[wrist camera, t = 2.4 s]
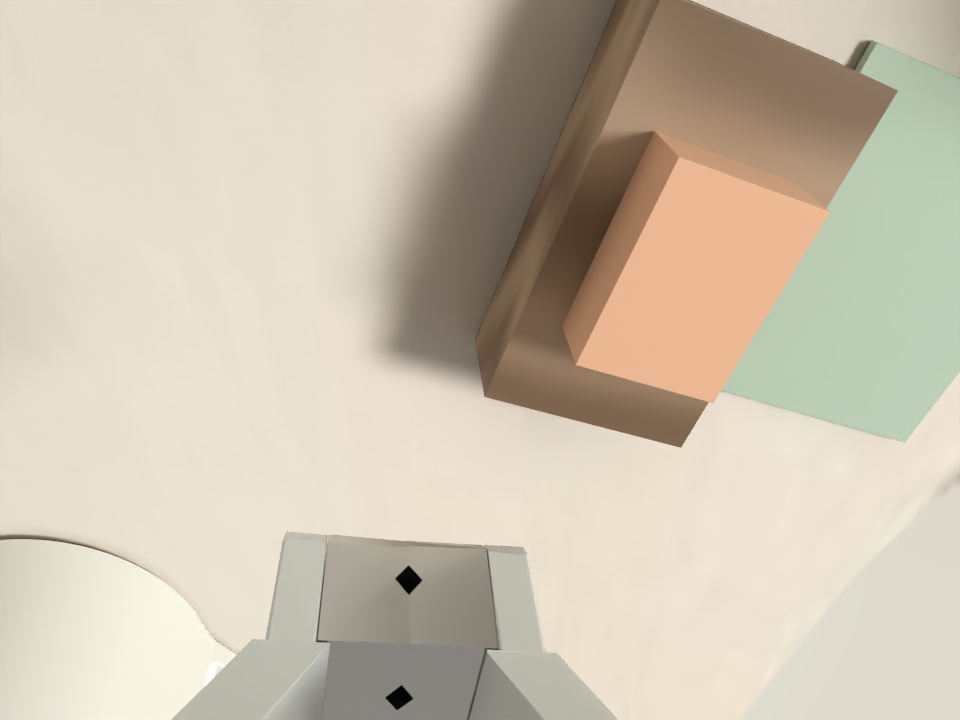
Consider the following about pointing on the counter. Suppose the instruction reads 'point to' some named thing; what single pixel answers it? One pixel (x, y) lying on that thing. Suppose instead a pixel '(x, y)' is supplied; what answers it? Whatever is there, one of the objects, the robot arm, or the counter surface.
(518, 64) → the counter surface
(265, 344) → the counter surface
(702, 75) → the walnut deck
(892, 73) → the sage mat
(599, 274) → the terracotta tile
